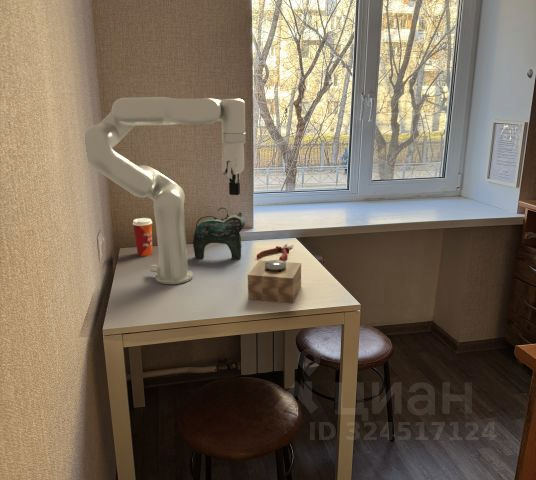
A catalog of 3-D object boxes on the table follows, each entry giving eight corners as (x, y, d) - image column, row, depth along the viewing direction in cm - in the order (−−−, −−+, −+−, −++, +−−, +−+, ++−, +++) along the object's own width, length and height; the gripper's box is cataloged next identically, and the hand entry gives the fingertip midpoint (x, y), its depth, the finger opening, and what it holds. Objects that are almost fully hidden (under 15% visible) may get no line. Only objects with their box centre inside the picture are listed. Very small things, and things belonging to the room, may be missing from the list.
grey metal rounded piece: (263, 291, 154) (262, 266, 152) (268, 284, 161) (267, 259, 158) (283, 293, 153) (283, 267, 150) (287, 285, 159) (287, 260, 157)
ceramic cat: (246, 256, 192) (244, 206, 187) (243, 261, 186) (242, 209, 180) (196, 255, 194) (193, 205, 189) (192, 260, 188) (189, 209, 182)
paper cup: (150, 257, 192) (147, 222, 188) (132, 256, 193) (128, 222, 189) (157, 251, 200) (155, 217, 196) (140, 250, 201) (137, 217, 197)
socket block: (248, 299, 152) (247, 274, 149) (259, 282, 165) (259, 260, 162) (292, 303, 148) (292, 278, 146) (301, 286, 161) (301, 263, 159)
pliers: (303, 249, 201) (303, 243, 200) (282, 264, 184) (282, 257, 183) (278, 246, 206) (277, 240, 205) (255, 260, 189) (255, 253, 188)
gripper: (230, 136, 166) (231, 189, 172) (214, 140, 153) (215, 198, 158) (251, 137, 164) (251, 191, 170) (237, 140, 151) (238, 199, 156)
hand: (234, 194), depth 164 cm, fingers closed
